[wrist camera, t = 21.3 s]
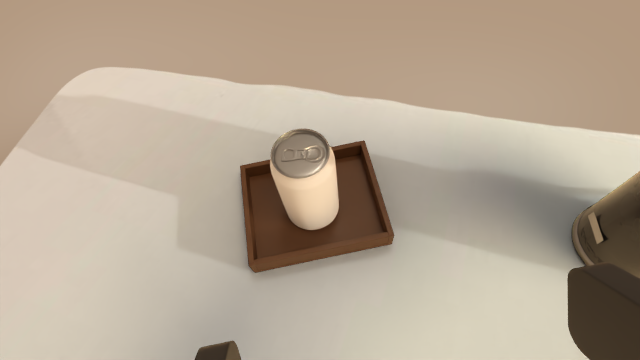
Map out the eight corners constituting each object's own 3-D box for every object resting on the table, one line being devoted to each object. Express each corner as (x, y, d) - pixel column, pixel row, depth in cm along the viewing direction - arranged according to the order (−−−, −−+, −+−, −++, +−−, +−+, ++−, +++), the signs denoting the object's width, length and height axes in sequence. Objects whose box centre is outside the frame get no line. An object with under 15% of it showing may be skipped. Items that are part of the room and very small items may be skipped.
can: (339, 231, 42) (334, 181, 31) (285, 232, 42) (263, 183, 32) (338, 183, 45) (334, 123, 35) (288, 184, 45) (269, 126, 35)
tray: (363, 152, 48) (364, 140, 45) (391, 244, 41) (394, 235, 39) (245, 176, 47) (240, 165, 45) (254, 272, 41) (248, 266, 38)
